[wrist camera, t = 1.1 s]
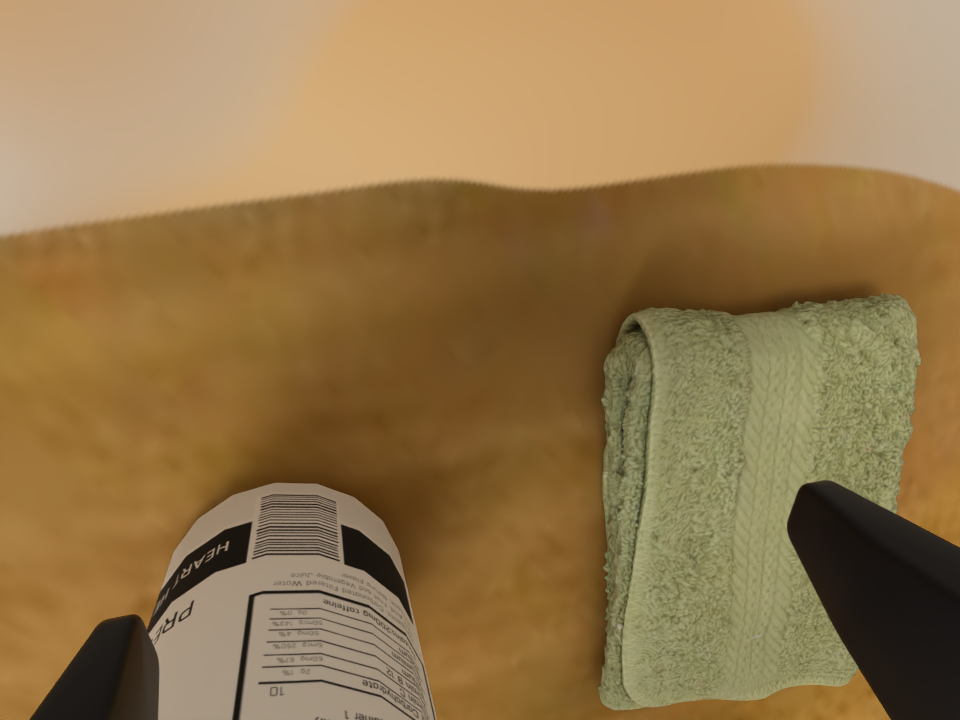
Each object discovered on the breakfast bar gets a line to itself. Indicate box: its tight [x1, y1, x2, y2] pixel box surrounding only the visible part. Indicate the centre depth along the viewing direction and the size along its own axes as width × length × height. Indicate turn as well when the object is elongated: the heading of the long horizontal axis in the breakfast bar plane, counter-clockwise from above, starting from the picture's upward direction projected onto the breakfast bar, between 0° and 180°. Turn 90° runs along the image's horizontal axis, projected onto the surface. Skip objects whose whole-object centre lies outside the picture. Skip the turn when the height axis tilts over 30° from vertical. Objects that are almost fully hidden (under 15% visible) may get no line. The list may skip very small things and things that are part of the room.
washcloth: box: [597, 293, 921, 710], centre depth 28 cm, size 13×18×3 cm
